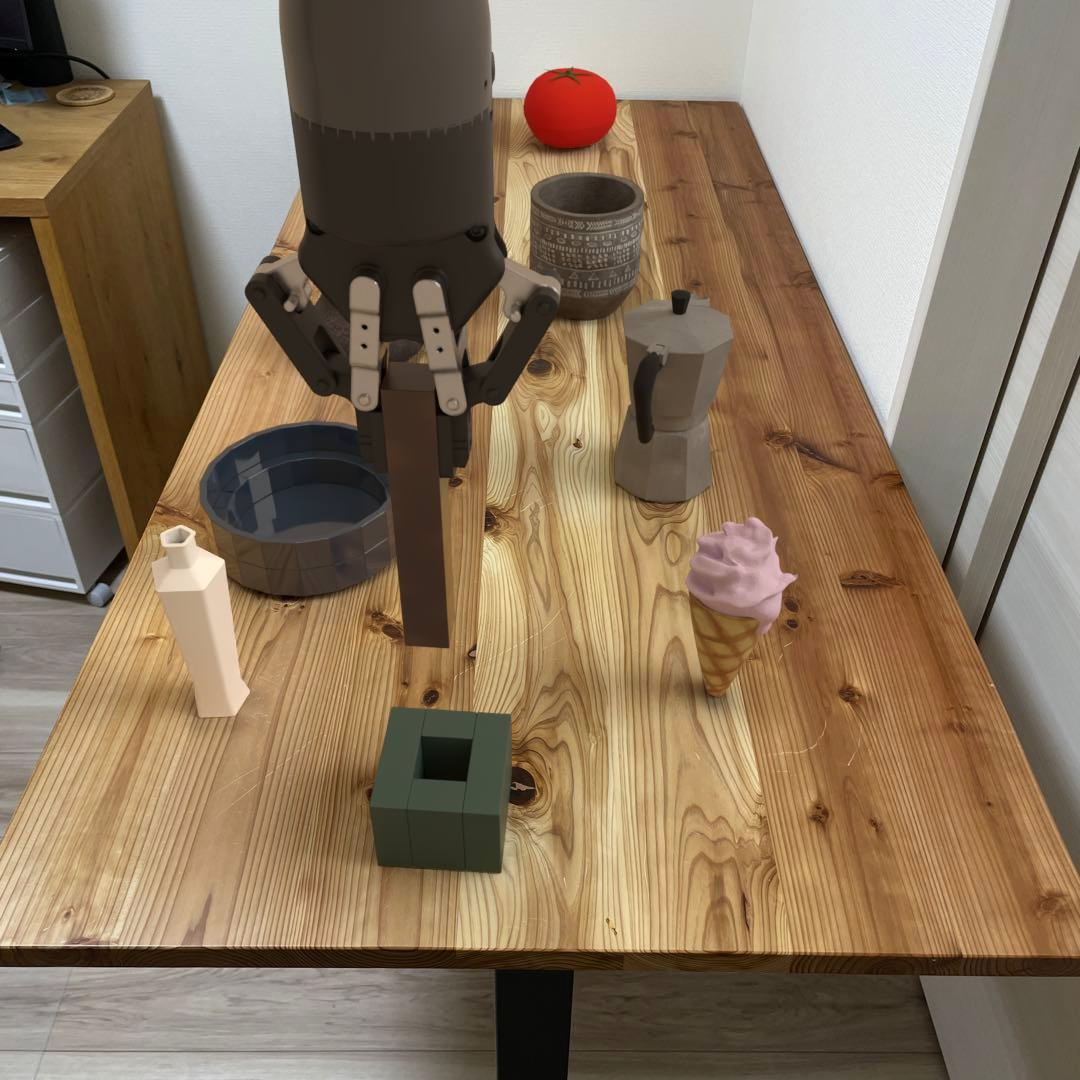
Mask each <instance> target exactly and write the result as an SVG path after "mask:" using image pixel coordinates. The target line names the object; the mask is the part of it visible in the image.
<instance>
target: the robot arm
mask: <svg viewBox="0 0 1080 1080" xmlns="http://www.w3.org/2000/svg"><path fill="white" fill-rule="evenodd" d="M278 24H279V35H280V44H281V52H282V53H281V54H282V61H283V69H284V76H285V82H286V83H285V84H286V90H287V96H288V97H287V98H288V105H289V114H290V119H291V127H292V136H293V141H294V149H295V155H296V163H297V164H296V165H297V171H298V177H299V178H298V181H299V186H300V193H301V201H302V209H303V215H304V222H305V227H304V233H303V236H302V238H301V240H300V242H299V245H298V248H297V251H295V252H293V253H291V254H289V255H287V256H284V257H282V258H281V257H280V256H277V255H274V254H269V255H265V256H264V257H263V258H262V259H261V261H260V262H259V265H257V267H256V269H255V270H254V272H253V274H252V275H251V277H250V279H249V281H248V282H247V283H246V285H245V288H244V296H245V298H246V300H247V301H248V303H249V305H251V307H252V308H253V310H254V311H255V313H256V314H257V315H258V317H259V318H260V320H261V321H262V323H263V324H264V325H265V327H266V328H267V329H268V331H269V332H270V334H271V336H272V337H273V338H274V339H275V341H276V342H277V344H278V345H279V347H280V348H281V349H282V351H283V353H285V355H286V357H287V358H288V359H289V361H290V363H292V365H293V367H294V368H295V369H296V371H297V372H298V374H299V375H300V376H301V378H302V379H303V380H304V382H305V383H306V385H307V386H308V388H309V389H310V390H311V392H312V393H313V394H315V395H316V396H319V397H322V398H323V397H324V398H328V397H331V396H332V395H336V396H339V397H341V398H343V399H346V400H347V401H349V403H351V405H352V406H353V408H354V413H355V420H356V426H357V430H358V439H359V448H360V454H361V456H362V458H363V459H364V461H365V463H374V469H375V474H378V475H388V466H387V456H386V445H385V435H384V424H383V414H382V404H381V393H380V389H381V386H382V383H383V380H384V377H385V374H386V371H387V369H388V357H389V342H391V341H396V340H401V339H407V340H411V341H414V342H418V343H421V344H424V348H425V353H426V358H427V359H426V360H427V363H428V364H429V369H430V372H431V373H433V375H434V380H435V385H436V390H437V395H438V400H439V407H438V411H437V415H436V421H437V438H438V455H439V472H440V478H448V479H451V480H454V479H455V478H456V475H457V470H458V469H466V467H467V464H468V463H469V460H470V456H471V452H472V448H473V420H472V419H473V417H472V408H473V407H474V406H477V405H481V404H483V403H484V404H485V405H488V406H491V407H497V406H500V405H502V404H504V402H505V401H506V400H507V398H508V397H509V395H510V393H511V391H512V390H513V388H514V387H515V385H516V383H517V381H518V380H519V378H520V377H521V375H522V373H523V371H524V370H525V368H526V366H527V365H528V363H529V362H530V360H531V358H532V357H533V355H534V353H535V351H536V350H537V348H538V347H539V345H540V343H541V342H542V340H543V339H544V337H545V335H546V334H547V332H548V330H549V328H550V327H551V325H552V323H553V321H554V320H555V319H556V316H557V315H558V314H557V313H558V308H559V302H560V294H561V284H562V280H561V276H560V275H559V273H558V272H557V271H555V270H553V269H550V268H544V269H541V270H539V271H538V272H535V271H533V270H531V269H530V267H527V266H525V265H523V264H521V263H519V262H518V261H515V260H514V259H511V258H510V257H508V248H507V245H506V242H505V241H504V238H503V237H502V235H501V233H500V231H499V230H498V227H497V224H496V219H495V190H494V189H495V179H494V178H495V175H494V170H495V169H494V109H493V107H494V106H493V103H494V102H493V100H494V99H493V98H494V97H493V85H494V82H495V80H496V62H495V54H494V52H493V49H492V48H493V47H492V45H493V42H492V41H493V40H492V39H493V38H492V18H491V11H490V2H489V0H278ZM311 283H312V284H313V285H314V286H315V287H316V288H317V289H318V291H319V292H320V294H321V293H322V294H323V295H324V296H325V297H326V298H327V300H328V301H329V302H330V303H331V304H332V305H333V306H334V308H335V309H336V310H337V311H338V312H339V313H340V314H341V315H342V317H343V318H344V319H345V320H346V321H347V322H348V323H349V325H350V357H348V356H347V354H346V352H345V351H344V349H343V348H342V346H341V345H340V343H339V342H338V340H337V339H336V337H335V336H334V334H333V333H332V331H331V330H330V328H329V327H328V325H327V324H326V322H325V321H324V319H323V318H322V316H321V315H320V314H319V312H318V311H317V309H316V308H315V304H314V303H313V301H312V300H311V297H312V295H313V287H312V284H311ZM496 287H498V288H500V289H501V291H502V292H503V294H504V300H503V305H502V312H503V314H504V316H505V317H506V318H507V319H508V322H507V323H506V325H505V327H504V328H503V330H502V332H501V333H500V336H499V337H498V339H497V341H496V342H495V344H494V346H493V348H492V349H491V351H490V353H489V355H488V356H487V358H486V360H485V361H482V362H477V363H474V364H472V362H471V356H470V350H469V344H468V336H469V333H468V322H469V321H470V320H471V319H472V317H473V316H474V315H475V314H476V312H477V311H478V310H479V308H480V307H481V306H482V305H483V304H484V303H485V301H486V300H487V298H488V297H490V295H491V293H492V292H493V291H494V290H495V288H496Z"/></svg>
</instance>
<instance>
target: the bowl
mask: <svg viewBox="0 0 1080 1080" xmlns="http://www.w3.org/2000/svg"><path fill="white" fill-rule="evenodd" d="M198 494H199V495H198V498H199V499H198V500H199V501H198V502H199V505H200V509H201V514H202V518H203V522H204V526H205V530H206V534H207V539H208V541H209V542H208V543H209V546H210V550H211V553H212V554H214V555H216V556H218V557H220V558H222V559H223V560H224V561H225V568H226V575H227V577H230V578H231V579H233V580H234V581H236V582H237V583H239V584H240V585H241V586H243V587H246V588H250V589H252V590H256V591H260V592H262V593H265V594H268V595H274V596H275V595H276V596H294V597H308V596H309V597H310V596H314V595H315V596H316V595H323V594H328V593H334V592H335V593H336V592H338V591H342V590H344V589H346V588H350V587H351V586H354V585H357V584H359V583H362V582H364V581H367V580H369V579H370V578H372V577H373V576H374V575H376V574H377V573H379V572H380V571H382V570H383V569H385V568H386V567H388V566H389V565H390V564H392V563H393V561H394V560H395V559H396V549H395V538H394V528H393V518H392V507H391V497H390V487H389V476H388V475H378V474H375V469H374V463H365V461H364V459H363V458H362V456H361V454H360V448H359V439H358V430H357V425H354V424H349V423H345V422H342V421H327V420H326V421H325V420H323V421H322V420H305V421H299V422H291V423H283V424H279V425H275V426H272V427H268V428H265V429H262V430H258V431H256V432H252V433H250V434H248V435H246V436H245V437H243V438H241V439H238V440H237V441H235V442H233V443H231V444H230V445H228V446H226V447H225V448H223V450H222V451H221V452H220V453H219V454H218V455H217V456H215V457H214V458H213V459H212V460H211V461H210V462H209V463H208V464H207V466H206V468H205V470H204V472H203V474H202V476H201V478H200V480H199V482H198Z"/></svg>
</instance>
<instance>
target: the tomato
mask: <svg viewBox="0 0 1080 1080" xmlns="http://www.w3.org/2000/svg"><path fill="white" fill-rule="evenodd" d="M543 70H544V71H545V72H543V73H541V74H540V75H539V76H537V77H536V78H535V79H534V80H533V81H532V83H531V84H530V86H529V88H528V89H527V91H526V94H525V96H524V101H523V105H522V107H523V108H522V109H523V117H524V119H525V122H526V124H527V127H528V128H529V130H530V132H531V133H532V135H533V136H534V137H535V138H536V140H537V141H539V142H541V143H543V144H545V145H546V146H549V147H552V148H556V149H557V148H558V149H575V148H585V147H588V146H589V147H590V146H592V145H594V144H596V143H598V142H599V141H601V140H602V139H603V138H604V137H605V136H606V135H607V134H609V132H610V130H612V127H613V126H614V124H615V122H616V118H617V113H618V105H617V103H618V102H617V99H616V94H615V92H614V89H613V87H612V86H611V85H610V83H609V82H608V81H607V80H606V79H605V78H603V77H602V76H601V75H599V74H597V73H595V72H593V71H590V70H587V69H583V68H578V67H574V66H572V67H562V68H553V69H547V70H546V69H545V68H543Z"/></svg>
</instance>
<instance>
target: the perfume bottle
mask: <svg viewBox="0 0 1080 1080" xmlns="http://www.w3.org/2000/svg"><path fill="white" fill-rule="evenodd" d="M196 534H197V532H196V531H195V530H194V529H192V528H189V527H187V526H186V525H183V524H179V525H176V526H173V527H171V528H169V529H165V530H164V531H161V533H159V536H160V537H159V538H160V542H161V546H162V547H163V548H164V549H165V554H166V555H165V556H163V557H161V558H159V559H157V560H154V561H152V562H151V571H152V576H153V577H152V578H153V582H154V588H155V589H154V590H155V591H156V594H157V597H158V599H159V601H160V604H161V606H162V609H163V611H164V615H165V616H166V619H167V621H168V624H169V627H170V629H171V631H172V634H173V637H174V639H175V642H176V644H177V646H178V650H179V652H180V655H181V657H182V659H183V662H184V664H185V667H186V670H187V672H188V675H189V677H190V679H191V682H192V685H193V687H194V700H195V704H196V709H197V710H196V711H197V714H198V717H199V718H202V719H204V718H231V717H235V716H236V715H237V714H238V713H239V711H240V710H241V708H242V706H243V704H244V703H245V701H246V699H247V698H248V697H249V695H250V693H251V690H250V688H249V687H248V685H247V684H246V683H245V681H244V680H243V678H242V677H241V669H240V662H239V655H238V649H237V648H238V647H237V642H236V633H235V627H234V618H233V612H232V606H231V604H232V603H231V597H230V591H229V584H228V583H229V582H228V575H227V574H226V568H225V561H224V560H223V559H222V558H220V557H218V556H216V555H214V554H212V552H210V551H207V550H205V548H202V547H200V546H198V545H197V542H196V538H195V536H196Z"/></svg>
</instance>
